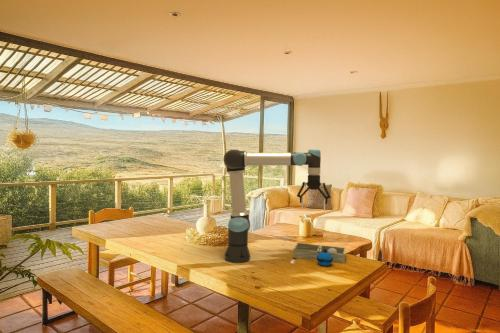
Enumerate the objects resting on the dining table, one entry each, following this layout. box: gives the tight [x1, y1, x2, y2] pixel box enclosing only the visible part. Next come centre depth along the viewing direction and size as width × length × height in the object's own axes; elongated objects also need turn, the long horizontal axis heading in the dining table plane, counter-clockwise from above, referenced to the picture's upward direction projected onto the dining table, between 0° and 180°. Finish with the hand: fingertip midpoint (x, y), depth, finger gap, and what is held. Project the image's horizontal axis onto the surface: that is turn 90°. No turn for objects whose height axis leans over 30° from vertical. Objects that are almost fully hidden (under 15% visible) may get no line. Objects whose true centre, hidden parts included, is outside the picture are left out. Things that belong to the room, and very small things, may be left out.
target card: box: [290, 259, 297, 265], centre depth 193 cm, size 6×8×1 cm
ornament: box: [316, 249, 333, 267], centre depth 188 cm, size 9×9×10 cm
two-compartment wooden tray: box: [292, 242, 346, 264], centre depth 202 cm, size 15×30×6 cm, turn 73°
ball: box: [327, 248, 337, 253], centre depth 200 cm, size 6×6×6 cm
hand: (313, 208), depth 206 cm, fingers open, 13 cm apart
